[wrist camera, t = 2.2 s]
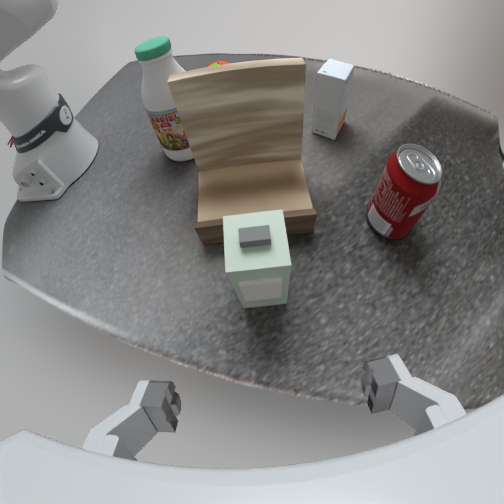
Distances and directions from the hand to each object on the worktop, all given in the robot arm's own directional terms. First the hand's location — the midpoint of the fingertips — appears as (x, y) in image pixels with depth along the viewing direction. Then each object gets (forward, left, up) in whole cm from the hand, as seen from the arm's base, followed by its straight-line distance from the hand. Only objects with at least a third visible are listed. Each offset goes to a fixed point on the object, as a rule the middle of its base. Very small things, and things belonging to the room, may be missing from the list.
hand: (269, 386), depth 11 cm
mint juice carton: (0, +11, -20) cm, 23 cm away
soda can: (+18, +18, -20) cm, 32 cm away
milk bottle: (-10, +36, -20) cm, 42 cm away
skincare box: (+14, +37, -20) cm, 44 cm away
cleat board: (0, +23, -20) cm, 30 cm away
